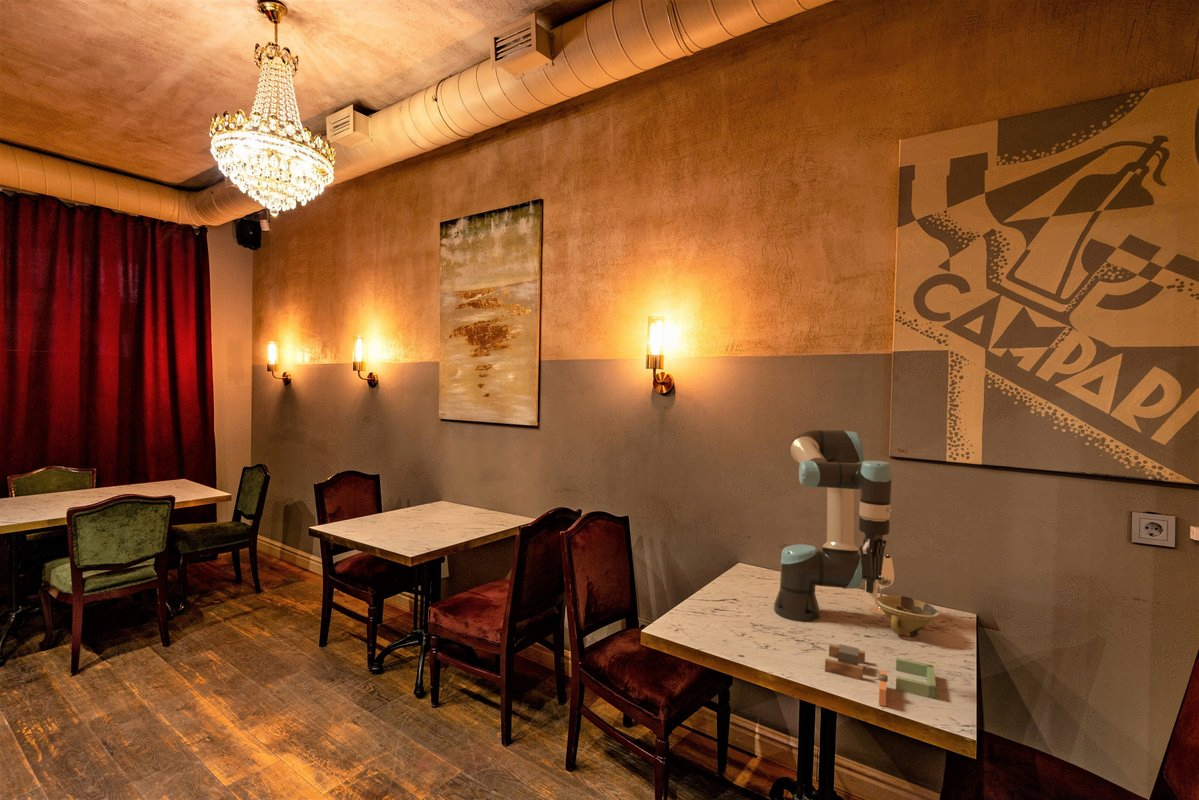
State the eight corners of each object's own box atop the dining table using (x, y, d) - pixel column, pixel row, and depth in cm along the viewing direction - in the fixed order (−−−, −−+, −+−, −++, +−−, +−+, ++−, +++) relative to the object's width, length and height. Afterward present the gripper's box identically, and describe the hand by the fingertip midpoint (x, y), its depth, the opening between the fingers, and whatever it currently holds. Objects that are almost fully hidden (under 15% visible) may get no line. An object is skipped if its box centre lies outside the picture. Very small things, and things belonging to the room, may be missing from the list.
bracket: (895, 689, 149) (896, 678, 149) (895, 667, 161) (896, 657, 161) (935, 699, 145) (936, 687, 145) (932, 676, 157) (933, 665, 157)
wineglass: (864, 607, 207) (866, 552, 207) (884, 607, 208) (886, 552, 208) (876, 615, 199) (878, 559, 199) (897, 615, 200) (899, 559, 200)
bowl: (919, 649, 174) (920, 618, 173) (864, 627, 189) (865, 599, 189) (949, 637, 183) (950, 608, 183) (895, 618, 198) (896, 590, 198)
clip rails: (824, 671, 158) (825, 660, 158) (829, 654, 169) (829, 644, 169) (862, 680, 154) (862, 669, 154) (864, 662, 164) (865, 651, 164)
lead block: (837, 669, 160) (838, 651, 160) (839, 661, 164) (839, 644, 164) (857, 673, 158) (858, 655, 157) (858, 666, 162) (858, 648, 162)
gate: (877, 704, 141) (878, 684, 141) (878, 684, 151) (879, 666, 151) (886, 706, 141) (887, 686, 140) (887, 686, 150) (888, 667, 150)
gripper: (879, 524, 148) (875, 613, 149) (897, 517, 157) (893, 601, 158) (850, 518, 154) (847, 605, 155) (869, 512, 163) (865, 593, 164)
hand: (870, 603), depth 156 cm, fingers closed
